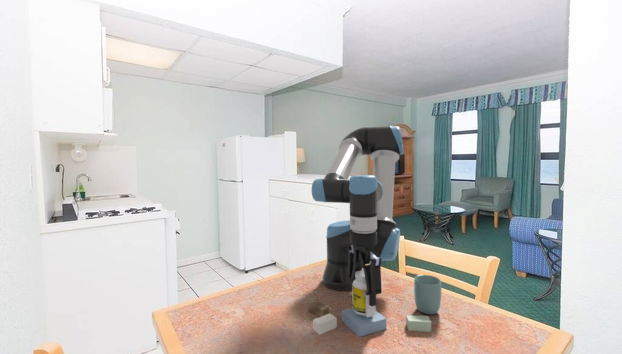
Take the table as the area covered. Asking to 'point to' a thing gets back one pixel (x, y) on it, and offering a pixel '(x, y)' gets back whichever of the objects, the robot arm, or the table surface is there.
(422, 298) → the cup
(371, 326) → the slab
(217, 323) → the table surface
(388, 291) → the table surface
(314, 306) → the walnut brick
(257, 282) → the table surface
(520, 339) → the table surface
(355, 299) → the pill bottle
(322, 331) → the cream brick
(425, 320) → the sage brick
